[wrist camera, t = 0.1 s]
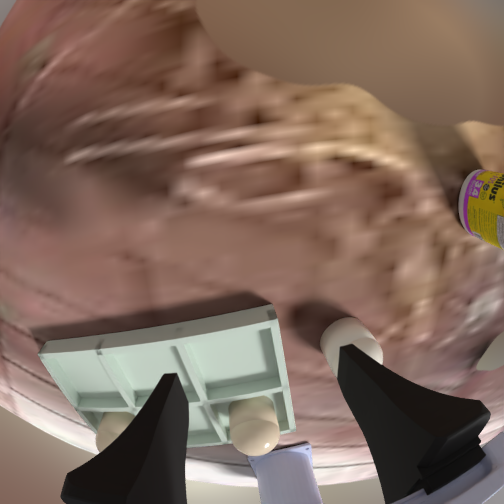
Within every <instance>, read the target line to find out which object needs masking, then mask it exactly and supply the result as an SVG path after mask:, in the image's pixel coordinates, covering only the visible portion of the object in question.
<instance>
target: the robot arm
mask: <svg viewBox="0 0 504 504" xmlns="http://www.w3.org/2000/svg"><path fill="white" fill-rule="evenodd" d="M337 380H338V383H339V385H340V388H341V391H342V393H343V396H344V398H345V400H346V402H347V404H348V406H349V408H350V409H351V411H352V413H353V415H354V417H355V419H356V421H357V422H358V424H359V426H360V428H361V430H362V432H363V434H364V436H365V438H366V441H367V444H368V446H369V449H370V452H371V454H372V457H373V460H374V463H375V466H376V470H377V473H378V476H379V480H380V483H381V487H382V491H383V495H384V499H385V504H483V503H484V502H485V501H487V500H488V499H489V498H491V497H492V496H493V495H494V494H495V493H496V492H497V491H499V490H500V489H501V488H502V487H503V486H504V432H500V433H499V434H498V435H497V436H496V437H494V438H493V439H492V440H490V441H489V442H488V443H487V444H486V445H485V446H484V447H482V448H481V447H480V446H479V444H480V443H481V440H480V438H479V437H478V435H479V434H480V433H481V431H482V430H483V428H484V427H485V426H486V424H487V422H488V421H489V419H490V415H491V413H490V411H489V410H488V409H487V408H486V407H485V406H484V404H483V403H482V402H481V401H480V400H473V399H465V398H459V397H454V396H450V395H446V394H442V393H439V392H436V391H433V390H430V389H427V388H424V387H422V386H420V385H417V384H415V383H413V382H411V381H409V380H407V379H405V378H403V377H401V376H399V375H398V374H396V373H394V372H392V371H391V370H389V369H388V368H386V367H385V366H383V365H381V364H380V363H378V362H377V361H376V360H374V359H373V358H371V357H370V356H369V355H367V354H366V353H364V352H363V351H362V350H360V349H359V348H358V347H356V346H355V345H353V344H349V345H345V346H341V347H340V350H339V362H338V373H337ZM188 429H189V402H188V399H187V397H186V394H185V392H184V389H183V387H182V384H181V382H180V379H179V376H178V374H177V373H164V374H163V375H162V377H161V379H160V380H159V382H158V384H157V385H156V387H155V388H154V390H153V392H152V393H151V395H150V396H149V398H148V399H147V401H146V402H145V404H144V405H143V407H142V408H141V410H140V411H139V412H138V414H137V415H136V416H135V418H134V419H133V420H132V421H131V423H130V424H129V425H128V426H127V427H126V429H125V430H124V431H123V432H122V433H121V434H120V435H119V436H118V437H117V438H116V439H115V440H114V441H113V442H112V443H111V444H110V445H109V446H107V447H106V448H105V449H104V450H103V451H102V452H100V453H99V454H98V455H96V456H95V457H94V458H92V459H91V460H90V461H88V462H86V463H85V464H83V465H82V466H80V467H78V468H76V469H74V470H73V471H71V472H69V473H67V476H66V479H65V482H64V485H63V489H62V492H61V499H62V500H63V502H65V503H66V504H187V499H186V484H185V459H186V448H187V439H188ZM248 461H249V463H250V465H251V467H252V469H253V471H254V473H255V475H256V477H257V480H258V487H259V493H260V499H261V504H323V502H322V499H321V496H320V492H319V489H318V486H317V482H316V479H315V476H314V473H313V465H312V452H311V444H310V443H305V444H301V445H297V446H293V447H289V448H285V449H280V450H275V451H270V452H269V453H267V454H264V455H261V456H248Z"/></svg>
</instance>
